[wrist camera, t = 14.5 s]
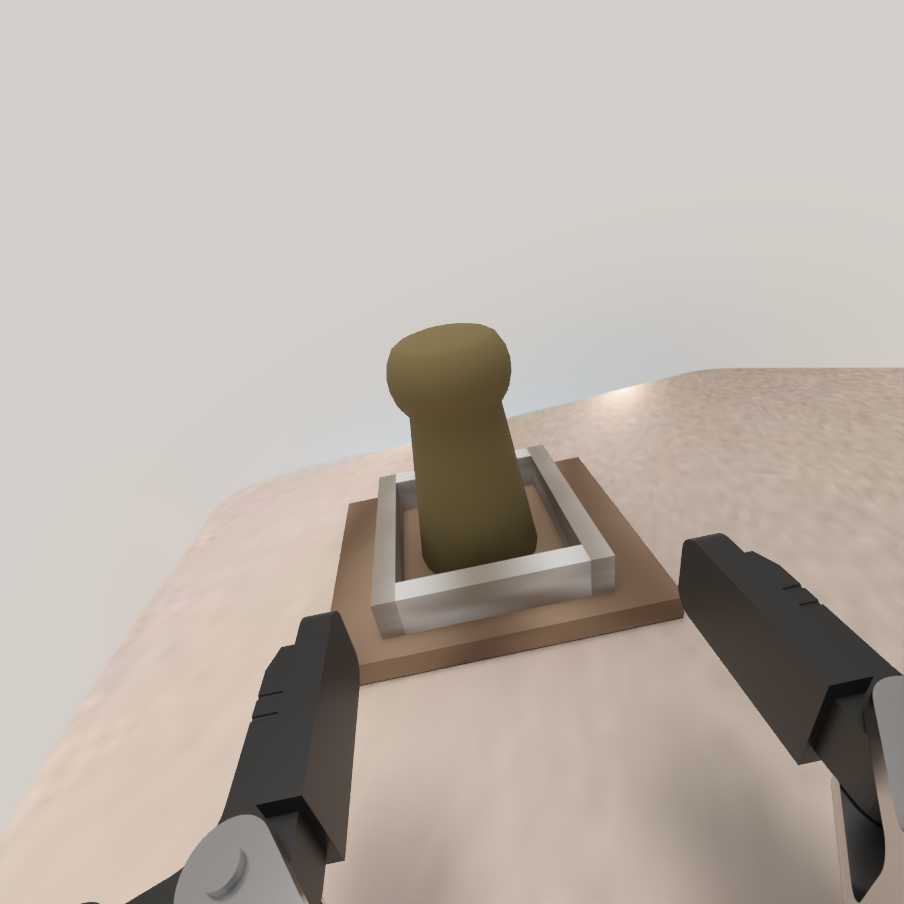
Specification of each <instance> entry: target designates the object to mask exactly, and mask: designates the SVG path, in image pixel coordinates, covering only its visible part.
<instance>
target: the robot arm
mask: <svg viewBox="0 0 904 904" xmlns="http://www.w3.org/2000/svg"><path fill="white" fill-rule="evenodd" d="M678 591H679V597H680V600H681V603H682V605H683V608H684V610H685V612H686V613H687V615H688V616H689V618H690V619H691V620H692V622H693V623H694V624H695V626H696V627H697V629H698V630H699V631H700V633H701V634H702V635H703V637H704V638H705V639H706V641H707V642H708V643H709V645H710V646H711V647H712V649H713V650H714V652H715V653H716V654H717V656H718V657H719V658H720V660H721V661H722V662H723V664H724V665H725V666H726V668H727V669H728V671H729V672H730V673H731V675H732V676H733V677H734V679H735V680H736V681H737V683H738V684H739V685H740V687H741V688H742V689H743V691H744V692H745V694H746V695H747V696H748V698H749V699H750V700H751V702H752V703H753V704H754V706H755V707H756V708H757V710H758V711H759V713H760V714H761V715H762V717H763V718H764V719H765V721H766V722H767V723H768V725H769V726H770V727H771V729H772V730H773V731H774V733H775V734H776V736H777V737H778V738H779V740H780V741H781V742H782V744H783V745H784V746H785V748H786V749H787V750H788V752H789V753H790V755H791V756H792V757H793V759H794V760H795V761H796V763H797V764H798V765H801V764H806V763H810V762H815V761H820V760H822V761H823V762H824V764H825V765H826V766H827V768H828V769H829V770H830V771H831V773H832V774H833V776H832V780H831V789H832V799H833V808H834V818H835V828H836V837H837V847H838V856H839V866H840V875H841V885H842V895H843V904H904V675H902V674H901V673H900V672H898V671H897V670H896V669H895V668H894V667H892V666H891V665H890V664H889V663H888V662H887V661H886V660H885V659H883V658H882V657H881V656H880V655H879V654H878V653H877V652H876V651H875V650H873V649H872V648H871V647H870V646H869V645H868V644H867V643H866V642H865V641H863V640H862V639H861V638H860V637H859V636H858V635H857V634H856V633H855V632H853V631H852V630H851V629H850V628H849V627H848V626H847V625H846V624H844V623H843V622H842V621H841V620H840V619H839V618H838V617H837V616H836V615H834V614H833V613H832V612H831V611H830V610H829V609H828V608H827V607H826V606H824V605H823V604H822V605H821V604H820V603H819V602H818V599H817V598H816V597H814V596H813V595H812V594H811V593H810V592H809V591H808V590H807V589H805V588H802V587H801V584H800V583H799V582H798V581H797V580H795V579H794V578H793V577H792V576H791V575H790V574H789V573H788V572H787V571H785V570H784V569H783V568H782V567H781V566H780V565H778V564H776V563H774V562H772V561H771V560H769V559H767V558H765V557H763V556H761V555H759V554H757V553H755V552H753V551H750V552H745V553H744V552H743V551H742V550H741V549H740V548H739V547H738V546H737V545H736V544H735V543H734V542H733V541H732V540H731V539H729V538H728V537H727V536H726V535H724V534H722V533H717V534H712V535H707V536H702V537H698V538H693V539H688V540H686V541H685V542H684V543H683V548H682V557H681V566H680V576H679V585H678ZM359 685H360V671H359V662H358V658H357V654H356V651H355V649H354V646H353V644H352V642H351V639H350V637H349V634H348V632H347V629H346V627H345V625H344V622H343V620H342V617H341V615H340V613H339V612H338V611H332V612H328V613H323V614H318V615H313V616H308V617H304V618H303V619H302V620H301V622H300V626H299V630H298V634H297V638H296V642H295V645H290V646H285V647H281V649H280V650H279V652H278V653H277V654H276V656H275V657H274V659H273V660H272V662H271V663H270V665H269V666H268V668H267V669H266V671H265V674H264V678H263V681H262V685H261V688H260V691H259V695H258V697H259V699H258V701H256V705H255V708H254V711H253V715H252V722H250V725H249V728H248V732H247V735H246V738H245V742H244V745H243V749H242V752H241V755H240V759H239V762H238V765H237V769H236V772H235V775H234V779H233V782H232V786H231V789H230V792H229V796H228V799H227V802H226V806H225V809H224V811H223V814H222V817H221V819H220V821H219V823H218V825H217V827H215V828H214V829H213V830H212V831H210V832H209V833H208V834H207V835H206V836H205V837H204V838H203V839H202V841H201V842H200V843H199V844H198V845H197V847H196V848H195V849H194V851H193V852H192V854H191V855H190V857H189V859H188V860H187V862H186V864H185V866H184V867H183V868H182V869H181V870H179V871H178V872H177V873H175V874H174V875H172V876H171V877H169V878H168V879H166V880H164V881H162V882H161V883H159V884H157V885H156V886H154V887H152V888H151V889H149V890H147V891H146V892H144V893H142V894H141V895H139V896H137V897H136V898H134V899H132V900H131V901H129V902H127V903H126V904H326V903H325V901H324V899H323V897H322V892H323V883H324V874H325V866H326V864H330V863H335V862H340V861H344V860H345V851H346V839H347V827H348V816H349V804H350V792H351V780H352V768H353V756H354V744H355V733H356V721H357V709H358V697H359ZM82 904H99V903H96V902H87V903H82Z"/></svg>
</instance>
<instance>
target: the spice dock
mask: <svg viewBox="0 0 904 904" xmlns="http://www.w3.org/2000/svg"><path fill="white" fill-rule="evenodd" d="M515 454H516V457H517V461H518V465H519V469H520V472H521V476H522V480H523V484H524V487H525V491H526V495H527V499H528V502H529V506H530V510H531V514H532V517H533V521H534V525H535V529H536V532H537V536H538V537H537V546H536V550H535V552H534V554H533V555H528V556H523V557H518V558H513V559H509V560H504V561H499V562H494V563H489V564H484V565H480V566H475V567H470V568H465V569H460V570H455V571H451V572H446V573H441V574H435V573H434V572H432V571H431V570H430V569H428V567H427V565H426V563H425V561H424V559H423V557H422V547H421V536H420V525H419V514H418V503H417V492H416V482H415V471H410V472H405V473H400V474H395V475H390V476H385V477H380V478H379V491H378V498H375V499H370V500H365V501H360V502H355V503H350V504H349V508H348V513H347V519H346V525H345V531H344V537H343V542H342V548H341V554H340V560H339V566H338V572H337V577H336V583H335V589H334V595H333V601H332V606H331V612H332V611H338V612H339V613H340V615H341V617H342V620H343V622H344V625H345V627H346V629H347V632H348V634H349V637H350V639H351V642H352V644H353V646H354V649H355V651H356V654H357V658H358V662H359V671H360V685H364V684H369V683H374V682H378V681H383V680H388V679H393V678H397V677H402V676H407V675H412V674H416V673H421V672H426V671H431V670H435V669H440V668H445V667H449V666H454V665H459V664H464V663H468V662H473V661H478V660H483V659H487V658H492V657H497V656H502V655H506V654H511V653H516V652H521V651H525V650H530V649H535V648H539V647H544V646H549V645H554V644H558V643H563V642H568V641H573V640H577V639H582V638H587V637H592V636H596V635H601V634H606V633H611V632H615V631H620V630H625V629H630V628H634V627H639V626H644V625H648V624H653V623H658V622H663V621H667V620H672V619H677V618H682V617H683V615H684V608H683V605H682V603H681V600H680V597H679V591H678V586H677V585H676V584H675V582H674V581H673V580H672V578H671V577H670V576H669V574H668V573H667V572H666V571H665V569H664V568H663V567H662V565H661V564H660V563H659V562H658V560H657V559H656V558H655V556H654V555H653V554H652V552H651V551H650V550H649V549H648V547H647V546H646V545H645V543H644V542H643V541H642V539H641V538H640V537H639V536H638V534H637V533H636V532H635V530H634V529H633V528H632V527H631V525H630V524H629V523H628V521H627V520H626V519H625V517H624V516H623V515H622V514H621V512H620V511H619V510H618V508H617V507H616V506H615V504H614V503H613V502H612V501H611V499H610V498H609V497H608V495H607V494H606V493H605V492H604V490H603V489H602V488H601V486H600V485H599V484H598V482H597V481H596V480H595V479H594V477H593V476H592V475H591V473H590V472H589V471H588V469H587V468H586V467H585V466H584V464H583V463H582V462H581V460H580V459H579V458H578V457H577V458H572V459H567V460H562V461H557V462H554V461H553V460H552V458H551V457H550V455H549V454H548V452H547V451H546V449H545V448H544V446H543V445H539V446H534V447H529V448H524V449H519V450H515Z"/></svg>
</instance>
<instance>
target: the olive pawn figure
mask: <svg viewBox="0 0 904 904" xmlns="http://www.w3.org/2000/svg"><path fill="white" fill-rule="evenodd" d="M510 376H511V362H510V355H509V353H508V350H507V347H506V344H505V343H504V342H503V340H502V339H501V338H500V336H499V335H498V334H497V333H496V331H495V330H493V329H491V328H489V327H487V326H484V325H480V324H471V323H457V324H446V325H440V326H435V327H431V328H427V329H424V330H422V331H419V332H416V333H414V334H411V335H409V336H407V337H405V338H404V339H402V340H401V341H399V342H398V343H397V344H396V345H395V346H394V347H393V348H392V349H391V352H390V355H389V359H388V362H387V383H388V387H389V391H390V394H391V395H392V397H393V399H394V401H395V403H396V405H397V406H398V407H399V408H400V409H401V411H402V412H404V413H405V414H406V415H407V416H408V417H410V425H411V438H412V449H413V460H414V471H415V482H416V492H417V503H418V514H419V525H420V536H421V547H422V557H423V559H424V561H425V563H426V565H427V567H428V569H430V570H431V571H432V572H434V573H435V574H441V573H446V572H451V571H455V570H460V569H465V568H470V567H475V566H480V565H484V564H489V563H494V562H499V561H504V560H509V559H513V558H518V557H523V556H528V555H533V554H534V552H535V550H536V546H537V537H538V536H537V532H536V529H535V525H534V521H533V517H532V514H531V510H530V506H529V502H528V499H527V495H526V491H525V487H524V484H523V480H522V476H521V472H520V469H519V465H518V461H517V457H516V454H515V450H514V446H513V442H512V439H511V435H510V431H509V427H508V424H507V420H506V416H505V412H504V409H503V405H502V399H503V398H504V396H505V394H506V392H507V390H508V387H509V383H510Z"/></svg>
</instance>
